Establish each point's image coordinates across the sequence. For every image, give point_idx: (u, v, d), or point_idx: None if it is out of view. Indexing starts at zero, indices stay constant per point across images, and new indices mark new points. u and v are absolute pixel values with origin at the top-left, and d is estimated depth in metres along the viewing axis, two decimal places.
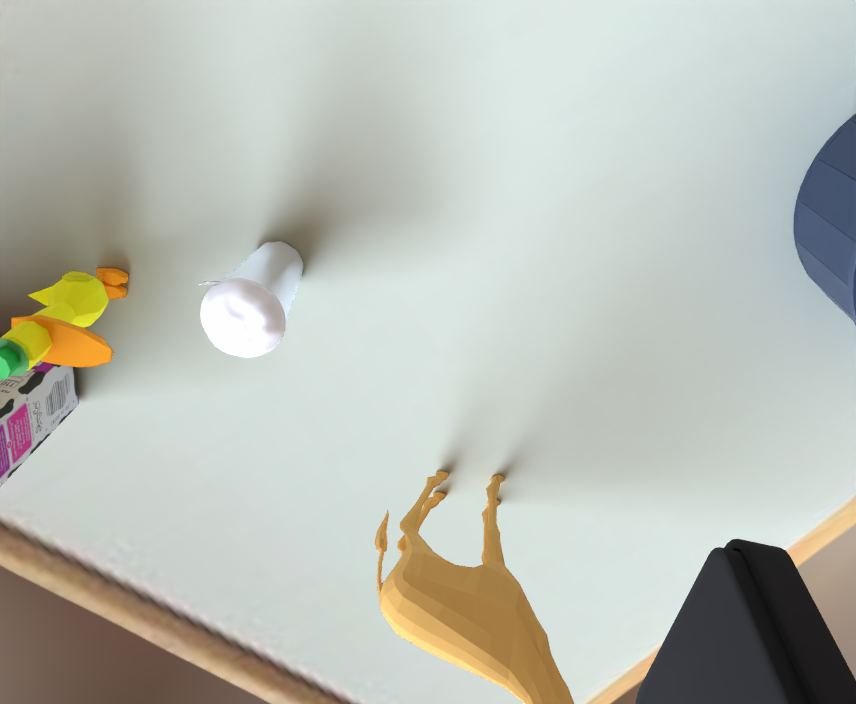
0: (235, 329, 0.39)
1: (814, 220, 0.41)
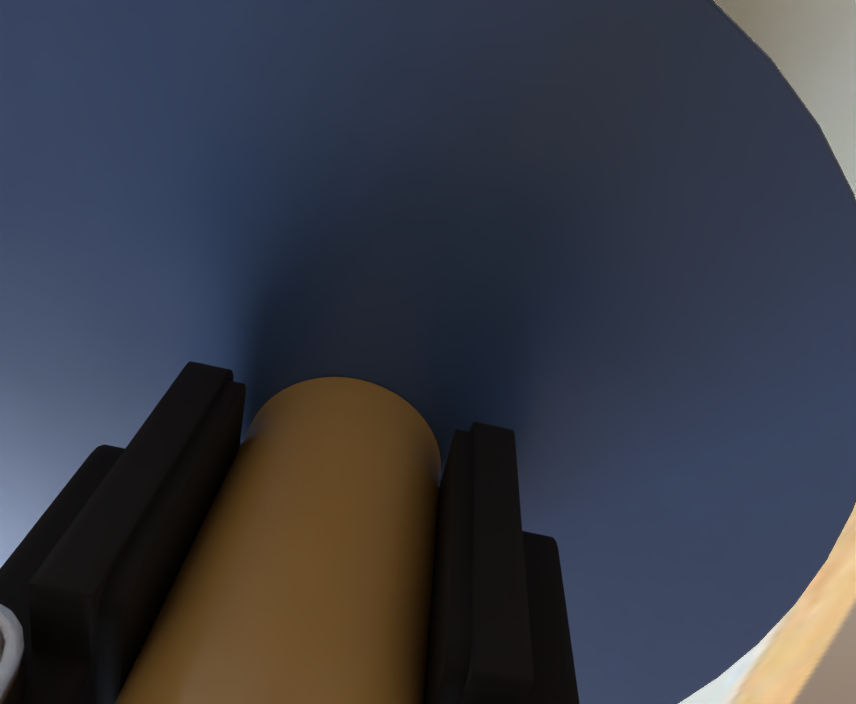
0: None
1: None
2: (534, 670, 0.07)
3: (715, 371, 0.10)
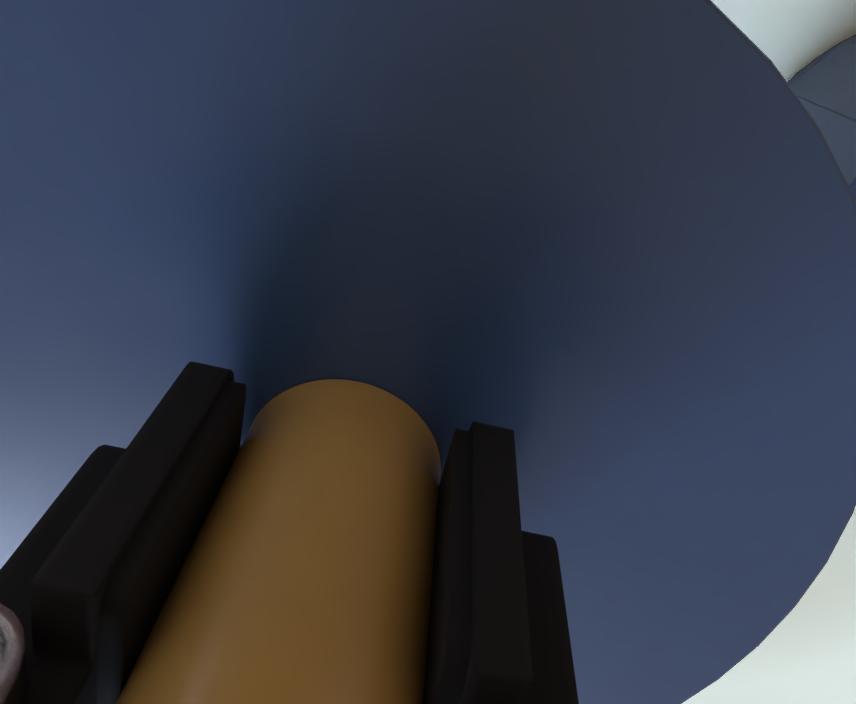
0: None
1: None
2: (533, 670, 0.07)
3: (715, 374, 0.10)
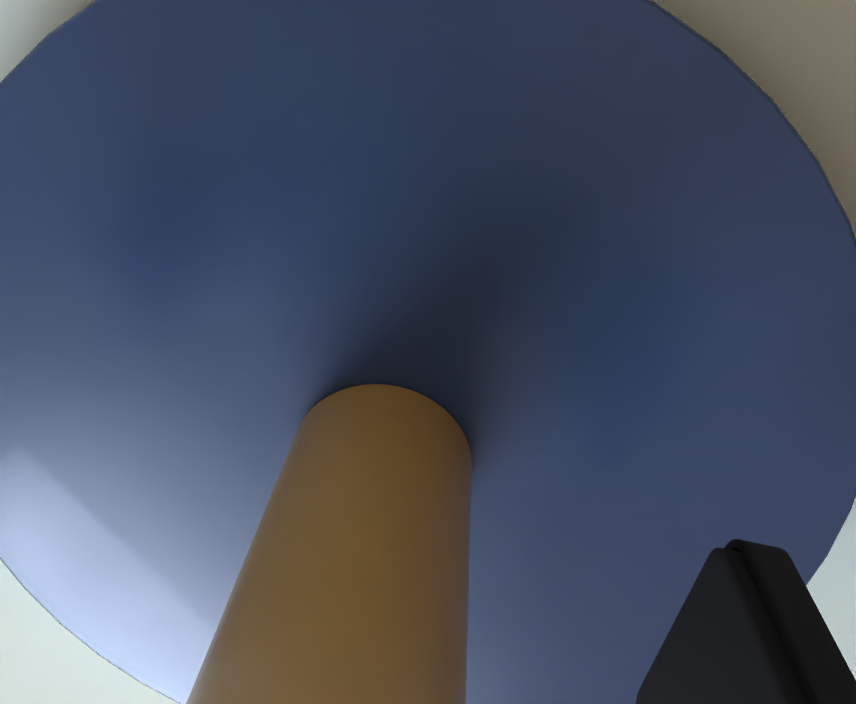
0: None
1: None
2: None
3: (724, 380, 0.11)
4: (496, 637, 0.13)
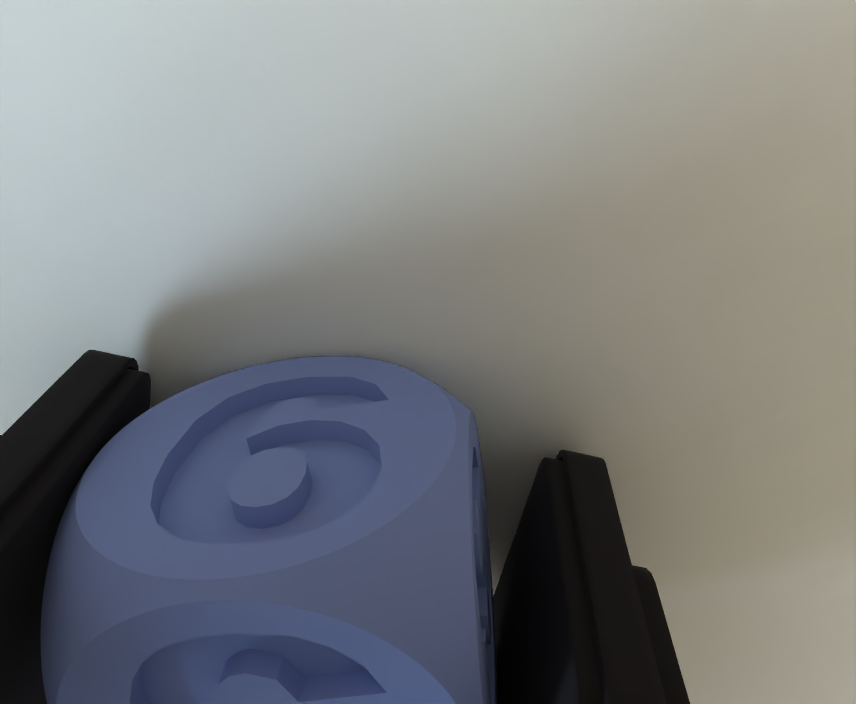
0: None
1: None
2: None
3: None
4: None
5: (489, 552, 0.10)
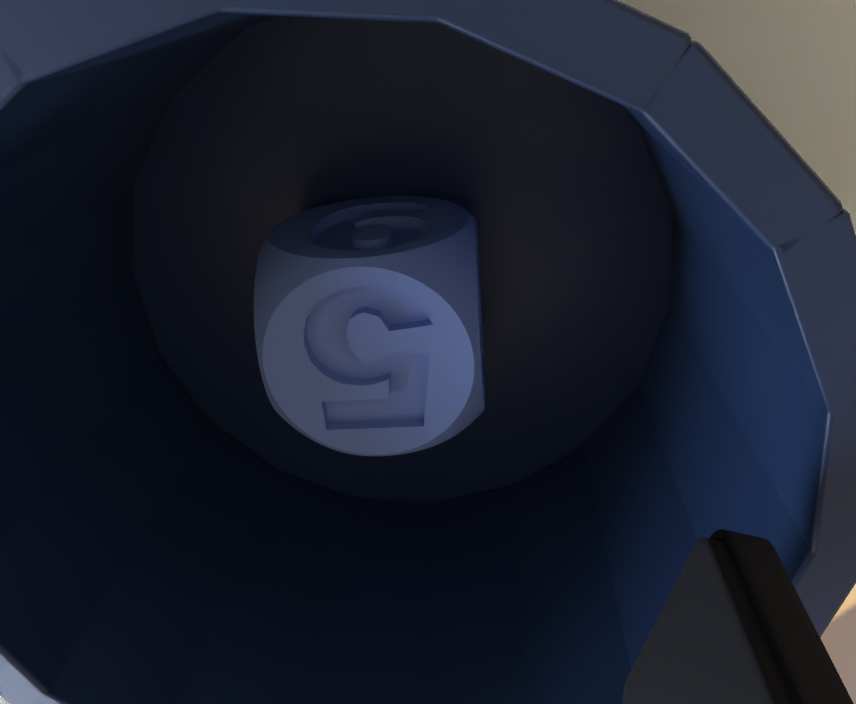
0: None
1: None
2: None
3: None
4: None
5: None
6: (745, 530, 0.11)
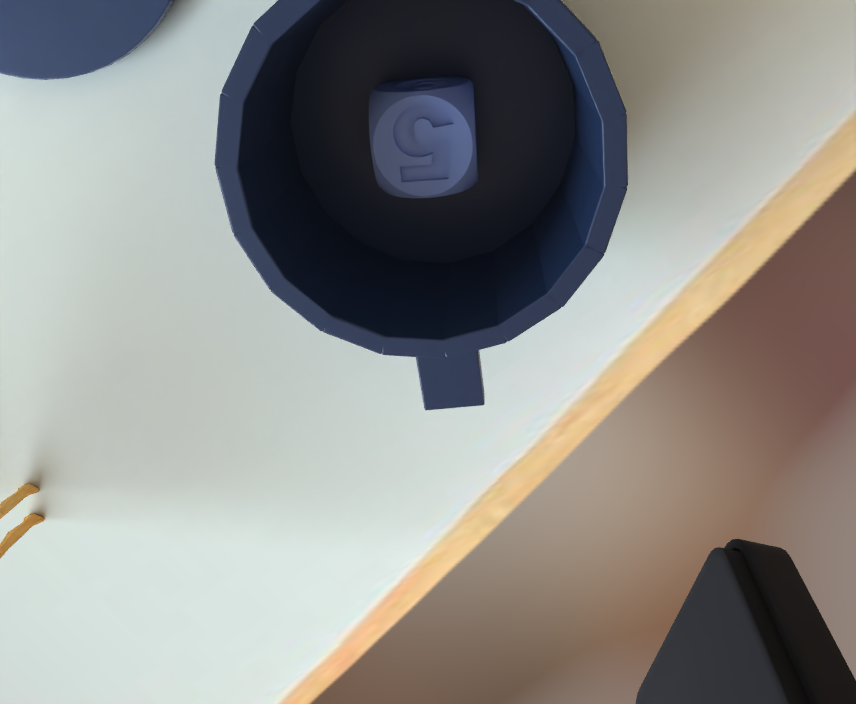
0: None
1: None
2: None
3: None
4: None
5: None
6: (588, 200, 0.26)
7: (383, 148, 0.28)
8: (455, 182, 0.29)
